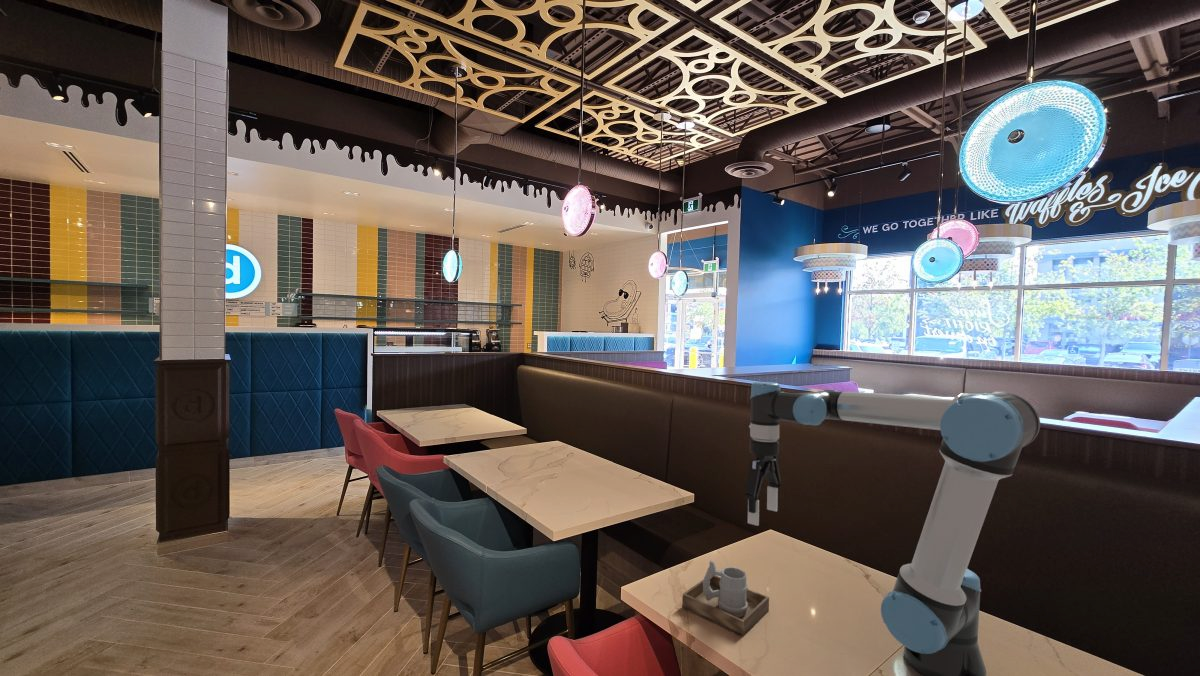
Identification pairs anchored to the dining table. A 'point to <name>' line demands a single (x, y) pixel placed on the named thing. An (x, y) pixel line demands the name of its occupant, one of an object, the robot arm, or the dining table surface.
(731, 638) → the dining table surface
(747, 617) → the wooden tray
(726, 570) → the mug
